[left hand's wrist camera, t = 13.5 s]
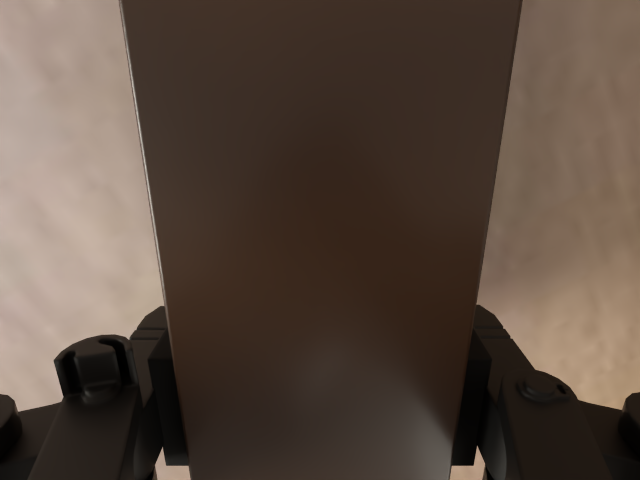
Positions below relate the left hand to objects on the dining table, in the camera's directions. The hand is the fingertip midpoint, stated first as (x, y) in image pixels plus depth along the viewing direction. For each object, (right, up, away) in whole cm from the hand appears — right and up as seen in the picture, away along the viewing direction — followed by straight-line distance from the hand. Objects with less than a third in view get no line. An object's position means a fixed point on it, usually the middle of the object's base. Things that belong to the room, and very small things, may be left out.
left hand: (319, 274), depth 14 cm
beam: (0, +12, -4) cm, 12 cm away
